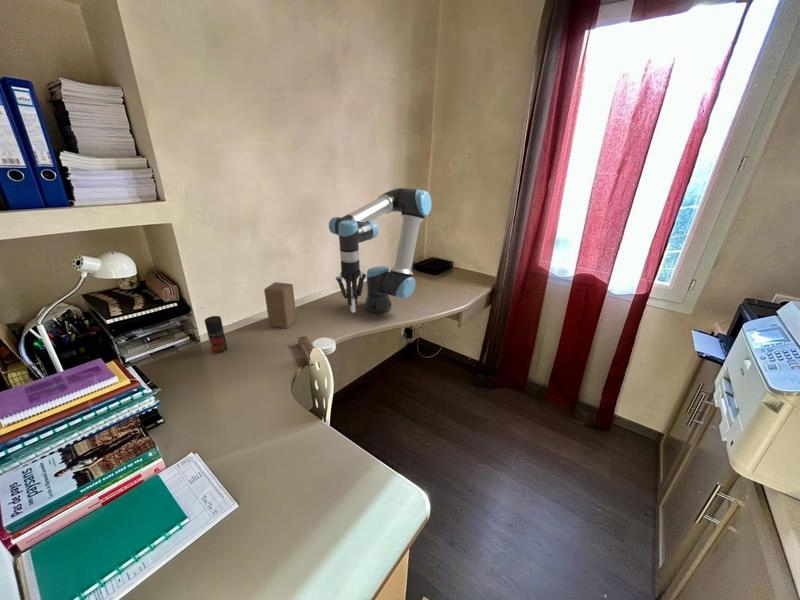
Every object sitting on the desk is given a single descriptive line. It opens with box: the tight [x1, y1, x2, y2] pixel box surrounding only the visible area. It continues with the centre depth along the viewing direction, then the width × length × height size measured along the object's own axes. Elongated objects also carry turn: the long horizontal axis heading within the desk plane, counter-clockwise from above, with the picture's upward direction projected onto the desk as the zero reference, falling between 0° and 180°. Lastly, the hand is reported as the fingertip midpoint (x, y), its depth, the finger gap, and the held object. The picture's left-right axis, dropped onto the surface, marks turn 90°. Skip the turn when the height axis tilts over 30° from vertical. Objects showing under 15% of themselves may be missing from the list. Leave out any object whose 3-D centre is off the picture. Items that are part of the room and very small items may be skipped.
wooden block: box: [263, 282, 297, 329], centre depth 163 cm, size 10×10×20 cm
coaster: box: [311, 337, 337, 356], centre depth 146 cm, size 10×10×4 cm
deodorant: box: [204, 315, 228, 354], centre depth 141 cm, size 6×6×15 cm
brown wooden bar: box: [297, 335, 313, 366], centre depth 143 cm, size 4×18×4 cm, turn 28°
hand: (352, 311), depth 147 cm, fingers closed
